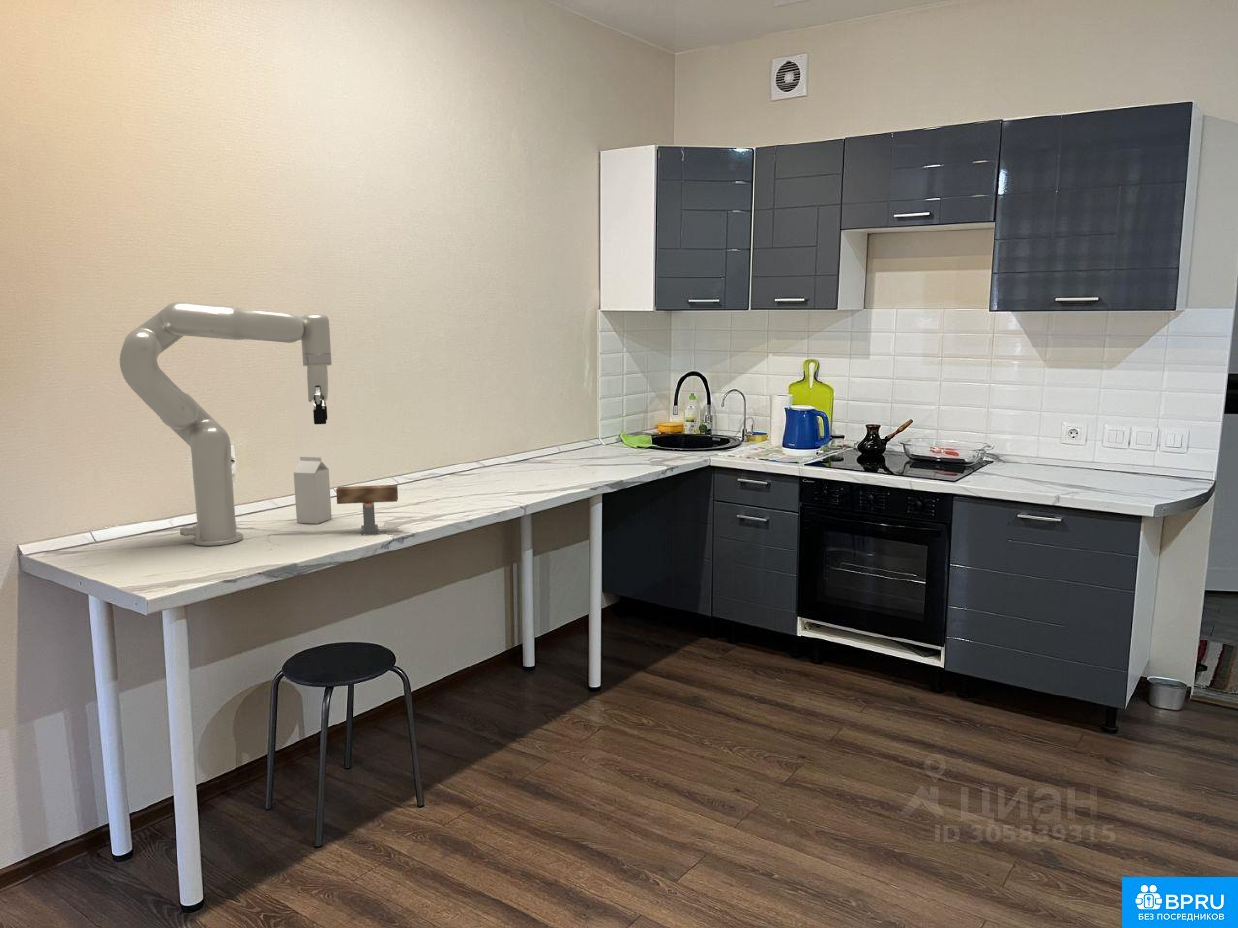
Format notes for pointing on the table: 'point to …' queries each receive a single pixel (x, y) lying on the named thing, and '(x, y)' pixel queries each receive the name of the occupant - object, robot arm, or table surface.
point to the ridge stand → (369, 519)
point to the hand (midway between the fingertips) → (320, 422)
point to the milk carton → (312, 491)
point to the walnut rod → (367, 494)
